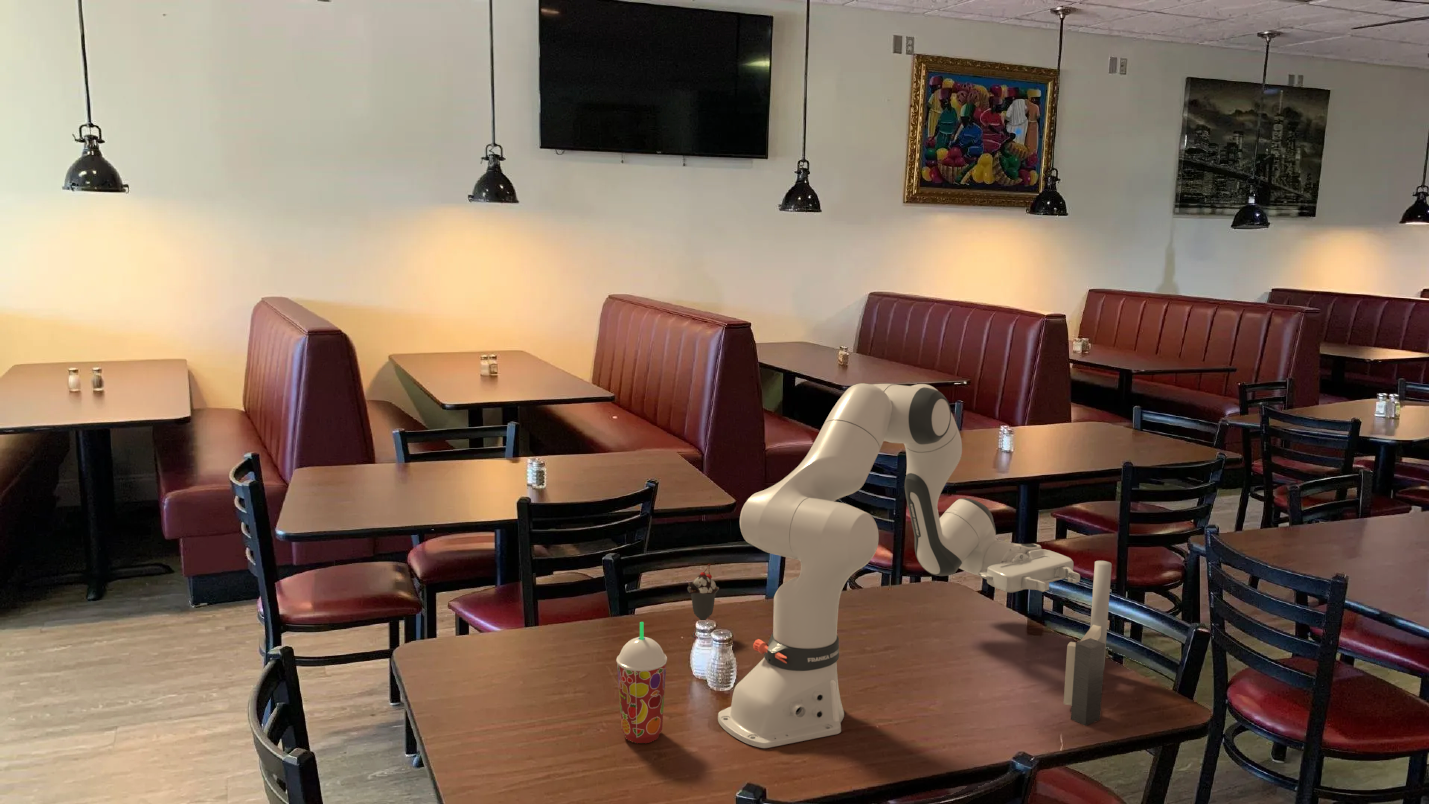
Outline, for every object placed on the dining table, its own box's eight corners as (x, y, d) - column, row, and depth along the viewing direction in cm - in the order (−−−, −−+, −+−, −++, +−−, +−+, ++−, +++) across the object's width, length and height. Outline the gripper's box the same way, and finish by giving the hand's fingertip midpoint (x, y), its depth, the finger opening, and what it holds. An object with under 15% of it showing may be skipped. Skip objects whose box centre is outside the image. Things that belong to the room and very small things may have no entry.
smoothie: (620, 724, 179) (619, 613, 176) (668, 725, 179) (668, 613, 176) (614, 747, 171) (613, 631, 168) (664, 749, 171) (664, 632, 167)
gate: (1077, 707, 185) (1085, 593, 181) (1060, 703, 186) (1067, 590, 183) (1105, 666, 202) (1113, 562, 199) (1089, 663, 204) (1096, 559, 200)
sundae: (720, 629, 222) (720, 561, 220) (717, 641, 216) (717, 571, 213) (689, 627, 223) (689, 560, 220) (685, 639, 216) (685, 570, 214)
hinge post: (1085, 725, 180) (1090, 648, 178) (1070, 719, 182) (1075, 642, 180) (1099, 719, 182) (1105, 643, 180) (1085, 713, 184) (1090, 638, 182)
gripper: (974, 558, 213) (1028, 577, 201) (1040, 542, 224) (1095, 559, 213) (972, 587, 214) (1026, 608, 202) (1038, 570, 225) (1093, 588, 214)
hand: (1062, 583), depth 208 cm, fingers open, 8 cm apart
